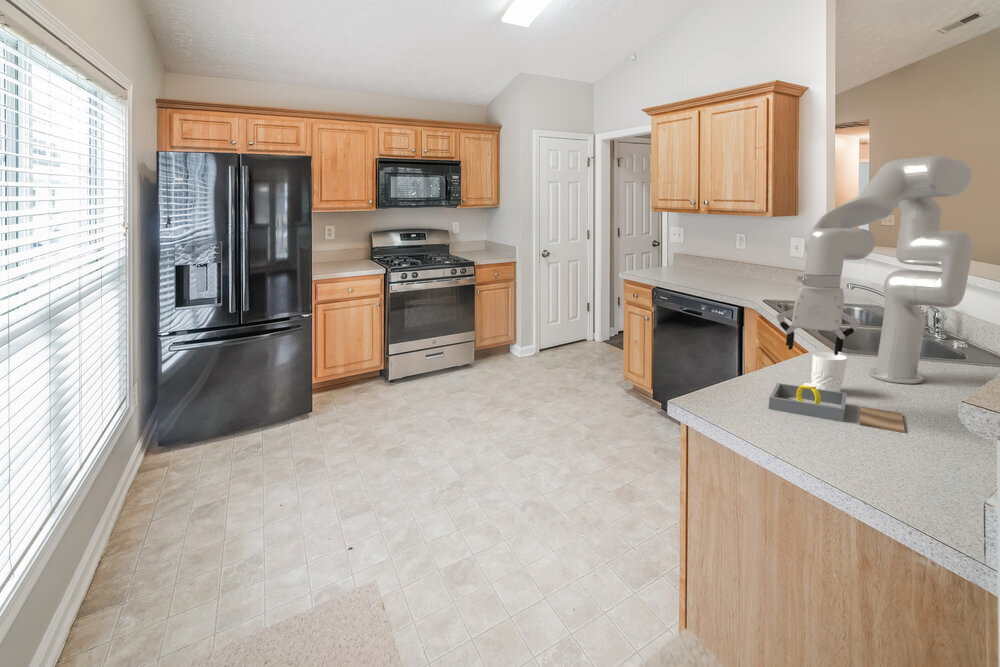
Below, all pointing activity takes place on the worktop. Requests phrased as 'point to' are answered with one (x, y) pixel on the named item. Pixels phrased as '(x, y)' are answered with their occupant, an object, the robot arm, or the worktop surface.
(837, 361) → the white cup
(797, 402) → the bin
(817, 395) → the watch
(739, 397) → the worktop surface
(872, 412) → the board
